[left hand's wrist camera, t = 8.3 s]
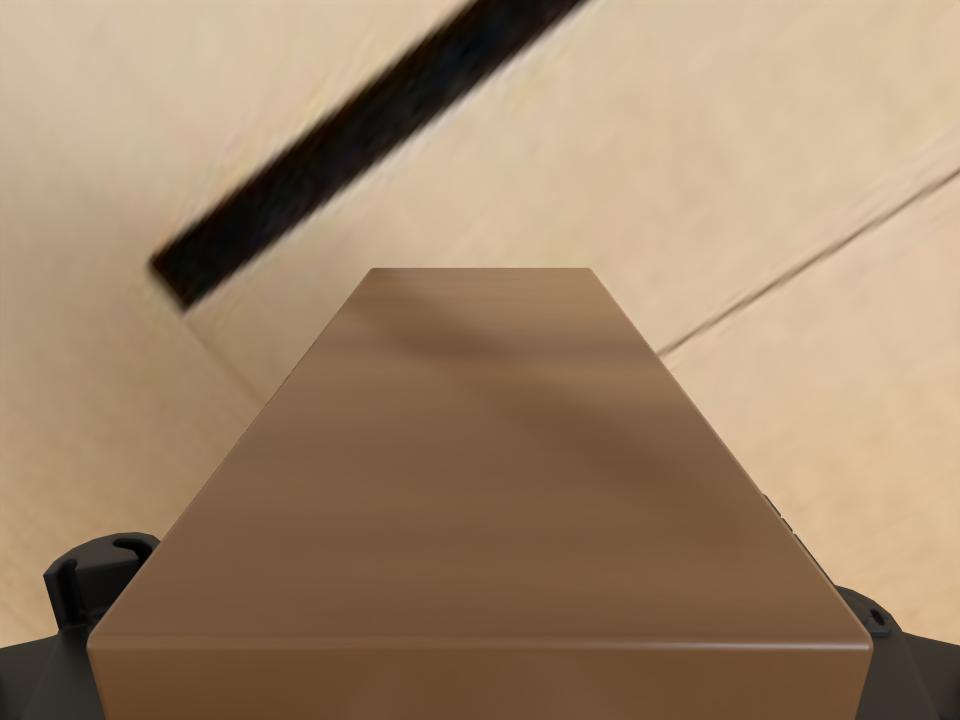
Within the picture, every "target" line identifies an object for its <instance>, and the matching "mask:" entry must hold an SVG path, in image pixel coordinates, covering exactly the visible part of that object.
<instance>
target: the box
mask: <svg viewBox="0 0 960 720" xmlns="http://www.w3.org/2000/svg"><path fill="white" fill-rule="evenodd" d="M86 650H87V654H88V657H89V661H90V665H91V668H92V672H93V676H94V679H95V683H96V686H97V690H98V694H99V697H100V701H101V704H102V708H103V712H104V715H105V719H106V720H855V717H856V713H857V709H858V706H859V702H860V698H861V695H862V691H863V687H864V684H865V680H866V677H867V673H868V669H869V666H870V662H871V658H872V655H873V651H874V647H873V641H872V638H871V635H870V634H869V632H868V631H867V630H866V628H865V627H864V626H863V624H862V623H861V622H860V620H859V619H858V618H857V617H856V615H855V614H854V613H853V611H852V610H851V609H850V607H849V606H848V605H847V603H846V602H845V601H844V600H843V598H842V597H841V596H840V594H839V593H838V592H837V590H836V589H835V588H834V586H833V585H832V584H831V583H830V581H829V580H828V579H827V577H826V576H825V575H824V573H823V572H822V571H821V569H820V568H819V567H818V566H817V564H816V563H815V562H814V560H813V559H812V558H811V556H810V555H809V554H808V552H807V551H806V550H805V549H804V547H803V546H802V545H801V543H800V542H799V541H798V539H797V538H796V537H795V535H794V534H793V533H792V532H791V530H790V529H789V528H788V526H787V525H786V524H785V522H784V521H783V520H782V518H781V517H780V516H779V514H778V513H777V512H776V511H775V509H774V508H773V507H772V505H771V504H770V503H769V501H768V500H767V499H766V497H765V496H764V495H763V494H762V492H761V491H760V490H759V488H758V487H757V486H756V484H755V483H754V482H753V480H752V479H751V478H750V477H749V475H748V474H747V473H746V471H745V470H744V469H743V467H742V466H741V465H740V463H739V462H738V461H737V460H736V458H735V457H734V456H733V454H732V453H731V452H730V450H729V449H728V448H727V446H726V445H725V444H724V443H723V441H722V440H721V439H720V437H719V436H718V435H717V433H716V432H715V431H714V429H713V428H712V427H711V426H710V424H709V423H708V422H707V420H706V419H705V418H704V416H703V415H702V414H701V412H700V411H699V410H698V409H697V407H696V406H695V405H694V403H693V402H692V401H691V399H690V398H689V397H688V395H687V394H686V393H685V392H684V390H683V389H682V388H681V386H680V385H679V384H678V382H677V381H676V380H675V378H674V377H673V376H672V375H671V373H670V372H669V371H668V369H667V368H666V367H665V365H664V364H663V363H662V361H661V360H660V359H659V358H658V356H657V355H656V354H655V352H654V351H653V350H652V348H651V347H650V346H649V344H648V343H647V342H646V340H645V339H644V338H643V337H642V335H641V334H640V333H639V331H638V330H637V329H636V327H635V326H634V325H633V323H632V322H631V321H630V320H629V318H628V317H627V316H626V314H625V313H624V312H623V310H622V309H621V308H620V306H619V305H618V304H617V303H616V301H615V300H614V299H613V297H612V296H611V295H610V293H609V292H608V291H607V289H606V288H605V287H604V286H603V284H602V283H601V282H600V280H599V279H598V278H597V276H596V275H595V274H594V272H593V271H592V270H591V269H589V268H372V269H370V271H369V272H368V273H367V275H366V276H365V277H364V278H363V280H362V281H361V282H360V284H359V285H358V286H357V288H356V289H355V290H354V291H353V293H352V294H351V295H350V297H349V298H348V299H347V301H346V302H345V303H344V304H343V306H342V307H341V308H340V310H339V311H338V312H337V314H336V315H335V316H334V317H333V319H332V320H331V321H330V323H329V324H328V325H327V327H326V328H325V329H324V330H323V332H322V333H321V334H320V336H319V337H318V338H317V339H316V341H315V342H314V343H313V345H312V346H311V347H310V349H309V350H308V351H307V352H306V354H305V355H304V356H303V358H302V359H301V360H300V362H299V363H298V364H297V365H296V367H295V368H294V369H293V371H292V372H291V373H290V375H289V376H288V377H287V378H286V380H285V381H284V382H283V384H282V385H281V386H280V388H279V389H278V390H277V391H276V393H275V394H274V395H273V397H272V398H271V399H270V401H269V402H268V403H267V404H266V406H265V407H264V408H263V410H262V411H261V412H260V414H259V415H258V416H257V417H256V419H255V420H254V421H253V423H252V424H251V425H250V427H249V428H248V429H247V430H246V432H245V433H244V434H243V436H242V437H241V438H240V440H239V441H238V442H237V443H236V445H235V446H234V447H233V449H232V450H231V451H230V453H229V454H228V455H227V456H226V458H225V459H224V460H223V462H222V463H221V464H220V466H219V467H218V468H217V469H216V471H215V472H214V473H213V475H212V476H211V477H210V479H209V480H208V481H207V482H206V484H205V485H204V486H203V488H202V489H201V490H200V492H199V493H198V494H197V495H196V497H195V498H194V499H193V501H192V502H191V503H190V505H189V506H188V507H187V508H186V510H185V511H184V512H183V514H182V515H181V516H180V518H179V519H178V520H177V521H176V523H175V524H174V525H173V527H172V528H171V529H170V531H169V532H168V533H167V534H166V536H165V537H164V538H163V540H162V541H161V542H160V544H159V545H158V546H157V547H156V549H155V550H154V551H153V553H152V554H151V555H150V557H149V558H148V559H147V560H146V562H145V563H144V564H143V566H142V567H141V568H140V570H139V571H138V572H137V573H136V575H135V576H134V577H133V579H132V580H131V581H130V583H129V584H128V585H127V586H126V588H125V589H124V590H123V592H122V593H121V594H120V596H119V597H118V598H117V599H116V601H115V602H114V603H113V605H112V606H111V607H110V609H109V610H108V611H107V612H106V614H105V615H104V616H103V618H102V619H101V620H100V622H99V623H98V624H97V625H96V627H95V628H94V629H93V631H92V632H91V633H90V635H89V638H88V641H87V647H86Z"/></svg>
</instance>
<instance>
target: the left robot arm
mask: <svg viewBox="0 0 960 720" xmlns="http://www.w3.org/2000/svg"><path fill="white" fill-rule="evenodd" d="M762 494H763V493H762ZM763 495H764V494H763ZM764 496H765V497H766V499H767V500H768V501H769V503H770V504H771V505H772V507H773V508H774V509H775V511H776V512H777V513H778V514H779V516H780V517H781V514H780V513H779V512H778V511H777V509H776V508H775V507H774V505H773V504H772V503H771V501H770V500H769V499H768V497H767V496H766V495H764ZM782 520H783V521H784V522H785V524H786V525H787V526H788V528H789V529H790V530H791V532H792V529H791V527H790V526H789V525H788V524H787V522H786V521H785V520H784V518H782ZM792 533H793V532H792ZM794 535H795V537H796V538H797V539H798V541H799V542H800V543H801V545H802V546H803V547H804V549H805V550H806V551H807V552H808V554H809V555H810V556H811V558H812V559H813V560H814V562H815V563H816V564H817V566H818V567H819V568H820V569H821V571H822V572H823V573H824V575H825V576H826V577H827V579H828V580H829V581H830V583H831V584H832V585H833V586H834V588H835V589H836V590H837V592H838V593H839V594H840V596H841V597H842V598H843V600H844V601H845V602H846V603H847V605H848V606H849V607H850V609H851V610H852V611H853V613H854V614H855V615H856V617H857V618H858V619H859V620H860V622H861V623H862V624H863V626H864V627H865V628H866V630H867V631H868V632H869V634H870V635H871V638H872V641H873V647H874V651H873V655H872V658H871V662H870V666H869V669H868V673H867V677H866V680H865V684H864V687H863V691H862V695H861V698H860V702H859V706H858V709H857V713H856V717H855V720H960V645H955V644H951V643H946V642H942V641H937V640H933V639H928V638H924V637H919V636H915V635H912V634H909V633H905V632H902V630H901V628H900V627H899V625H898V624H897V623H896V621H895V620H894V618H893V617H892V615H891V614H890V613H889V612H887V611H886V610H885V609H883V608H882V607H881V606H880V605H878V604H877V603H876V602H875V601H873V600H871V599H869V598H867V597H865V596H863V595H861V594H859V593H857V592H855V591H853V590H851V589H847V588H844V587H840V586H837V585H834V583H833V582H832V581H831V580H830V578H829V577H828V576H827V574H826V573H825V572H824V570H823V569H822V568H821V567H820V565H819V564H818V563H817V561H816V560H815V559H814V557H813V556H812V555H811V554H810V552H809V551H808V550H807V548H806V547H805V546H804V544H803V543H802V542H801V540H800V539H799V538H798V537H797V535H796V534H794ZM160 542H161V541H159V540H158V539H157V538H156V537H155V536H153V535H148V534H144V533H139V532H132V533H117V534H113V535H109V536H105V537H101V538H97V539H93V540H91V541H89V542H87V543H84V544H82V545H80V546H78V547H75V548H73V549H71V550H70V551H69V552H67V553H66V554H64V555H63V556H61V557H60V558H58V559H57V560H56V561H54V562H53V564H52V565H51V566H50V567H49V568H48V570H47V571H46V572H45V573H44V575H43V577H44V580H45V584H46V587H47V591H48V594H49V597H50V601H51V604H52V608H53V611H54V614H55V618H56V621H57V625H58V628H59V631H58V633H57V635H55V636H51V637H48V638H44V639H40V640H36V641H31V642H27V643H22V644H18V645H13V646H9V647H4V648H0V720H106V719H105V715H104V712H103V708H102V704H101V701H100V697H99V694H98V690H97V686H96V683H95V679H94V676H93V672H92V668H91V665H90V661H89V657H88V654H87V650H86V647H87V641H88V638H89V635H90V633H91V632H92V631H93V629H94V628H95V627H96V625H97V624H98V623H99V622H100V620H101V619H102V618H103V616H104V615H105V614H106V612H107V611H108V610H109V609H110V607H111V606H112V605H113V603H114V602H115V601H116V599H117V598H118V597H119V596H120V594H121V593H122V592H123V590H124V589H125V588H126V586H127V585H128V584H129V583H130V581H131V580H132V579H133V577H134V576H135V575H136V573H137V572H138V571H139V570H140V568H141V567H142V566H143V564H144V563H145V562H146V560H147V559H148V558H149V557H150V555H151V554H152V553H153V551H154V550H155V549H156V547H157V546H158V545H159V544H160Z"/></svg>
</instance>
